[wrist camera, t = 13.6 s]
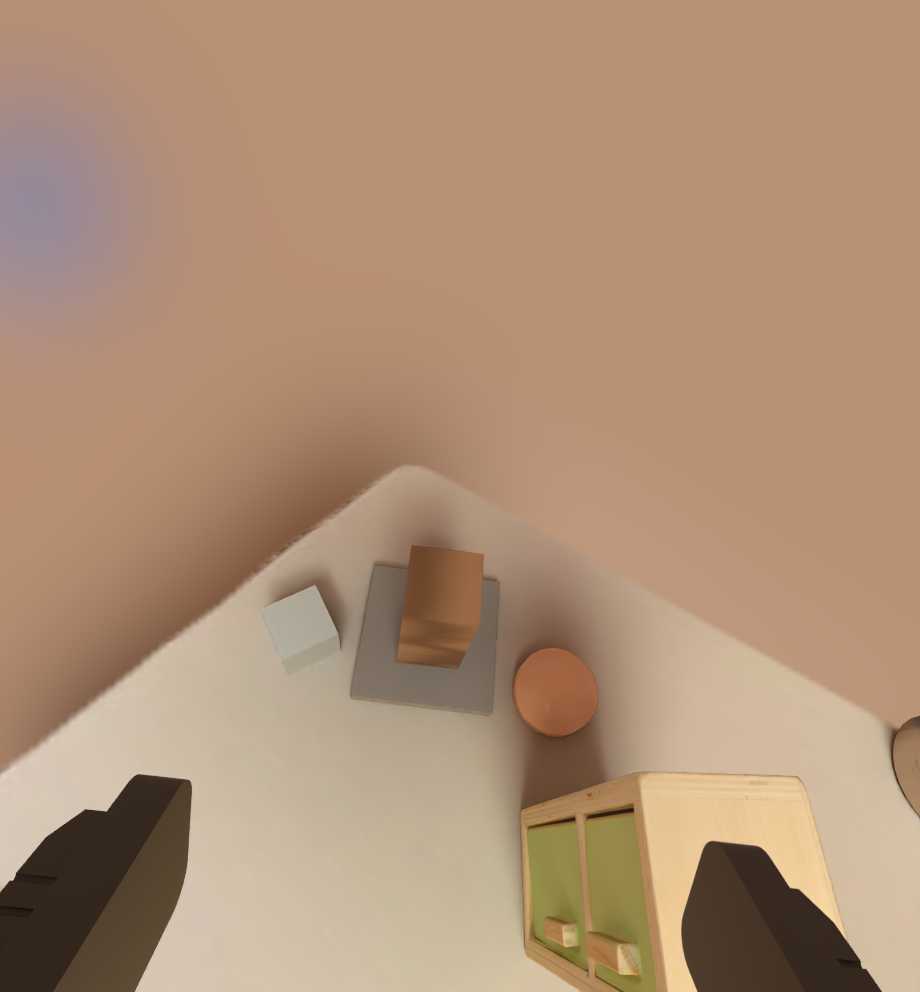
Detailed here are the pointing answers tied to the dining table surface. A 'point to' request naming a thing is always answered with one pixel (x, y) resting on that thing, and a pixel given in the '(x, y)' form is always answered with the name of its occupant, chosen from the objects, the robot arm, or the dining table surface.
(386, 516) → the dining table surface
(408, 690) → the slate coaster
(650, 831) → the toy refrigerator
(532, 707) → the orange disc
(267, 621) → the grey cube
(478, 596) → the walnut block
